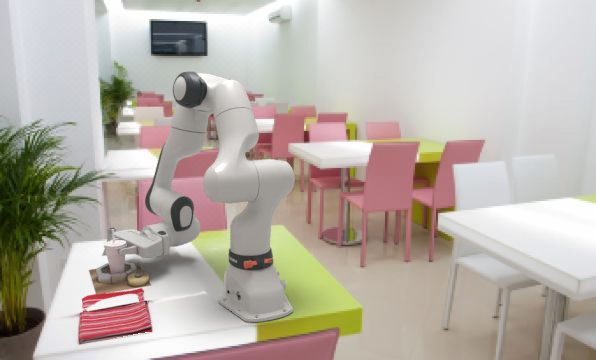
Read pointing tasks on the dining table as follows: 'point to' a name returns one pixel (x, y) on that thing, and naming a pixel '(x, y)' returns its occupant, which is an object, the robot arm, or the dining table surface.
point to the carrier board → (133, 282)
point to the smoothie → (115, 255)
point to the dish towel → (113, 318)
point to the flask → (109, 237)
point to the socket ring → (114, 278)
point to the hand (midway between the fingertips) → (112, 249)
